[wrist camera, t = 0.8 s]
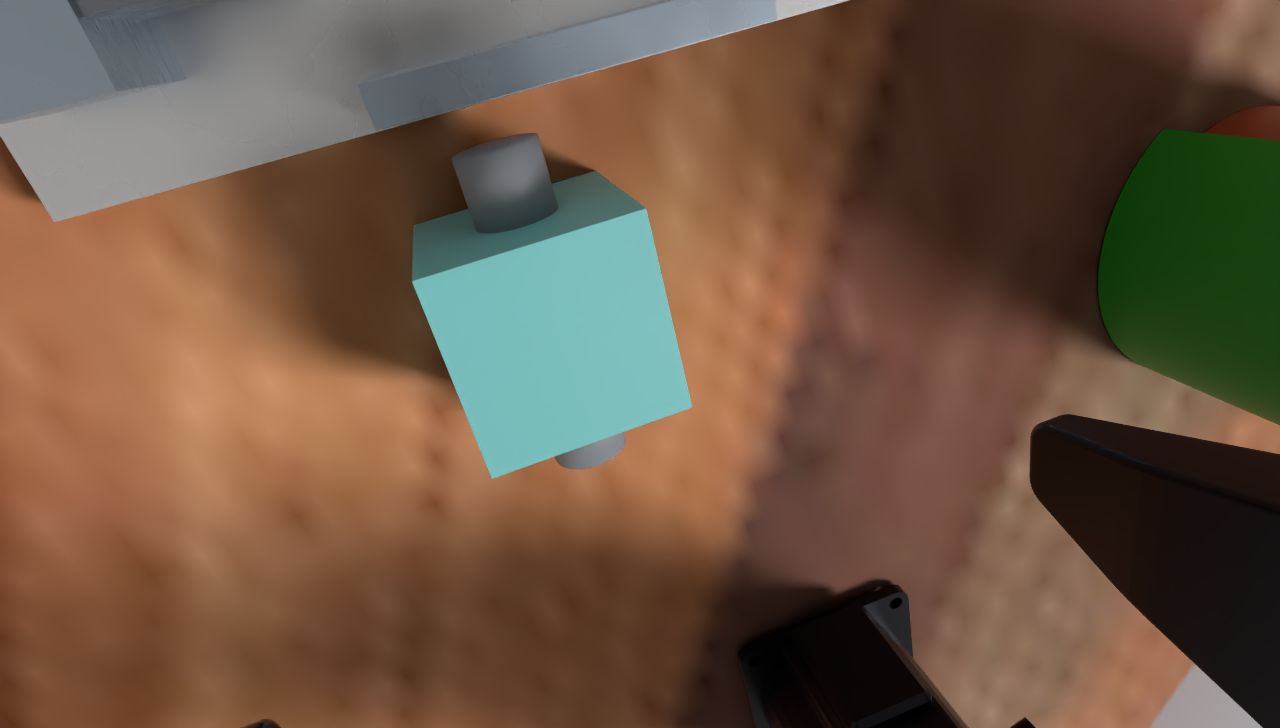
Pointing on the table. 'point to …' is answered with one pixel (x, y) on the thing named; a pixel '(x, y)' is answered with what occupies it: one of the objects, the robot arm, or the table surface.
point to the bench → (291, 75)
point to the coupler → (547, 310)
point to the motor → (1202, 261)
